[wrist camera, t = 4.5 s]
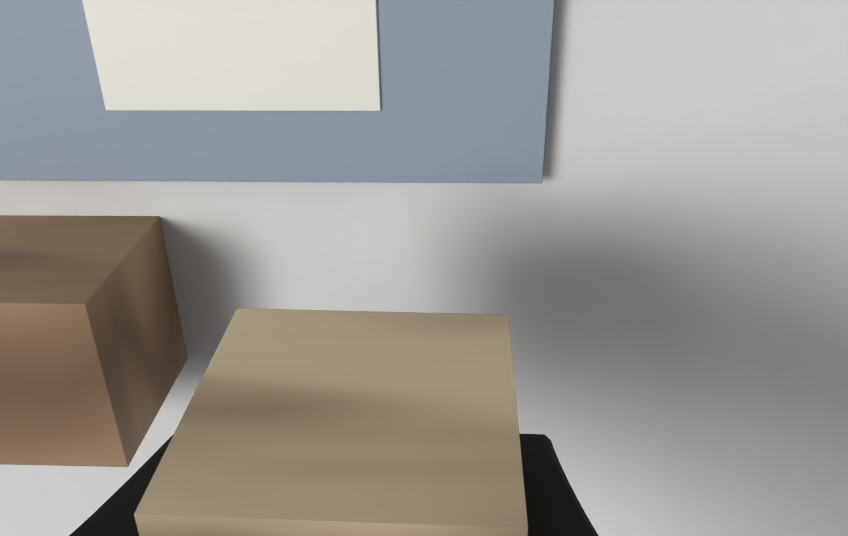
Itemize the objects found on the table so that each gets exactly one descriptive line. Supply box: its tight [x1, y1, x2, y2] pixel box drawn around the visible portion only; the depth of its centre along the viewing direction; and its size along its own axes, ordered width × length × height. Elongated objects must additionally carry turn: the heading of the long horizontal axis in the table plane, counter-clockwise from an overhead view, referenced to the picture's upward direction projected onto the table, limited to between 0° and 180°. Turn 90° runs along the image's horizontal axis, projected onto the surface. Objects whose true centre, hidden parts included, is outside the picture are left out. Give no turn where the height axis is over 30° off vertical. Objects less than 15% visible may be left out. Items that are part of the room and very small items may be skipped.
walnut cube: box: [0, 216, 187, 467], centre depth 19 cm, size 4×4×4 cm
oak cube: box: [134, 308, 528, 536], centre depth 12 cm, size 4×4×4 cm
